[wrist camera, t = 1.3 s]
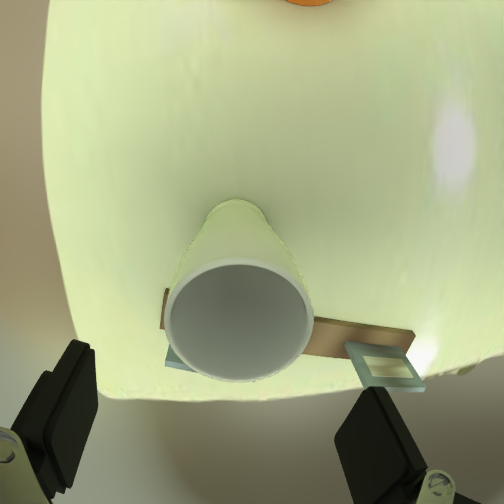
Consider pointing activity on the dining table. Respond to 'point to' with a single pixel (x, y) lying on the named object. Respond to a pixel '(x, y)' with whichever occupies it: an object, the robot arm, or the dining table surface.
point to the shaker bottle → (310, 2)
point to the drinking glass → (238, 299)
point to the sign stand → (352, 352)
